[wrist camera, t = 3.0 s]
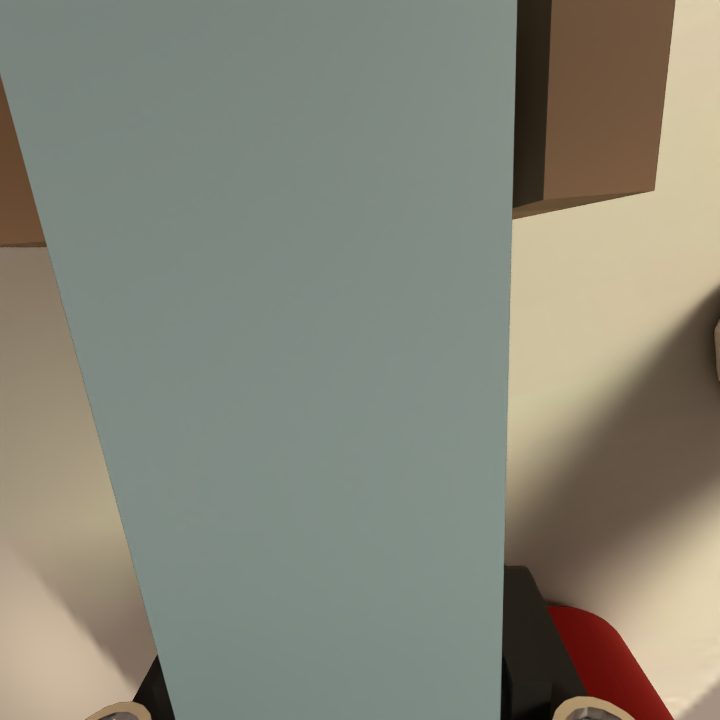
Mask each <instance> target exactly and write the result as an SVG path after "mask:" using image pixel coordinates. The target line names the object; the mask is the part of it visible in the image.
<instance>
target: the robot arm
mask: <svg viewBox="0 0 720 720" xmlns="http://www.w3.org/2000/svg"><path fill="white" fill-rule="evenodd" d="M86 720H175V716H174V712H173V709H172V705H171V701H170V697H169V694H168V690H167V686H166V683H165V679H164V675H163V672H162V668H161V664H160V661H159V657H158V654H157V656H156V658H155V660H154V662H153V664H152V666H151V667H150V669H149V671H148V673H147V675H146V677H145V679H144V680H143V682H142V684H141V686H140V688H139V690H138V692H137V693H136V695H135V697H134V699H133V701H132V702H119V703H116V704H113V705H111V706H108V707H105V708H103V709H101V710H100V711H98V712H96V713H95V714H93V715H91V716H90V717H88V718H87V719H86ZM500 720H635V719H634V718H633V717H632V716H630V715H629V714H628V713H627V712H625V711H624V710H622V709H620V708H618V707H617V706H615V705H613V704H612V703H610V702H607V701H604V700H601V699H598V698H594V697H589V696H588V694H587V692H586V690H585V687H584V685H583V683H582V681H581V679H580V677H579V675H578V673H577V670H576V668H575V666H574V664H573V662H572V660H571V658H570V656H569V653H568V651H567V649H566V647H565V645H564V643H563V641H562V639H561V636H560V634H559V632H558V630H557V628H556V626H555V624H554V622H553V619H552V617H551V615H550V613H549V611H548V609H547V607H546V605H545V602H544V600H543V598H542V596H541V594H540V592H539V590H538V588H537V586H536V583H535V581H534V579H533V577H532V575H531V573H530V571H529V570H528V568H527V567H526V566H505V564H504V580H503V622H502V664H501V707H500Z"/></svg>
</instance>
